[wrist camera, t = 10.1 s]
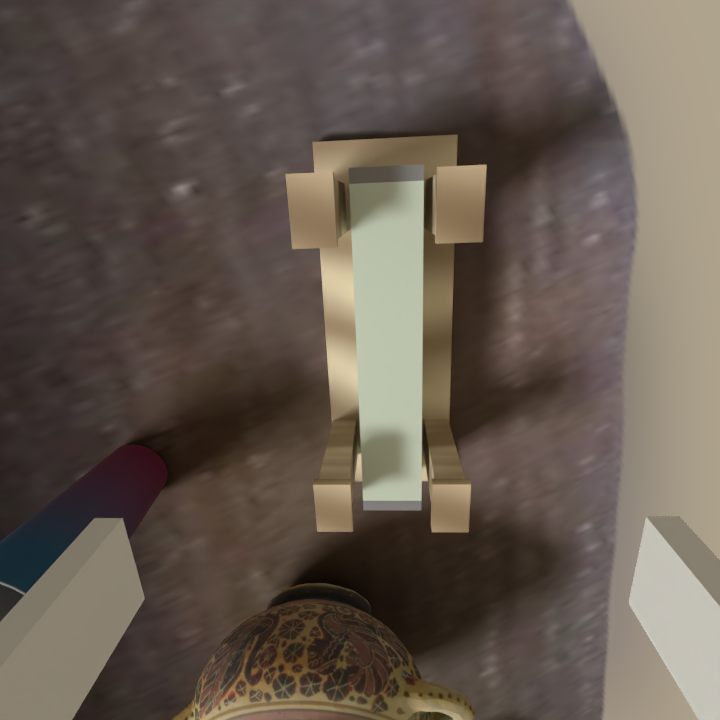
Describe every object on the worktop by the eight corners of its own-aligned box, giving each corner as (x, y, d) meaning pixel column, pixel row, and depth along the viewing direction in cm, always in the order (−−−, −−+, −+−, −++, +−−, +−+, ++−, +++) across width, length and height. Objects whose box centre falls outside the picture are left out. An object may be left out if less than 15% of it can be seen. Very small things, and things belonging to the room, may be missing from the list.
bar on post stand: (313, 144, 29) (280, 118, 20) (456, 136, 29) (489, 107, 20) (335, 474, 37) (320, 561, 28) (447, 473, 37) (467, 562, 28)
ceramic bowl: (444, 524, 39) (477, 711, 24) (464, 670, 44) (501, 890, 30) (176, 552, 41) (67, 736, 27) (228, 687, 47) (160, 896, 33)
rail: (354, 173, 29) (348, 167, 24) (417, 170, 28) (423, 164, 24) (366, 469, 36) (363, 510, 31) (416, 469, 36) (421, 510, 31)
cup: (150, 423, 37) (3, 562, 23) (193, 488, 39) (82, 653, 25) (84, 450, 38) (-94, 598, 24) (128, 512, 40) (-12, 683, 26)
